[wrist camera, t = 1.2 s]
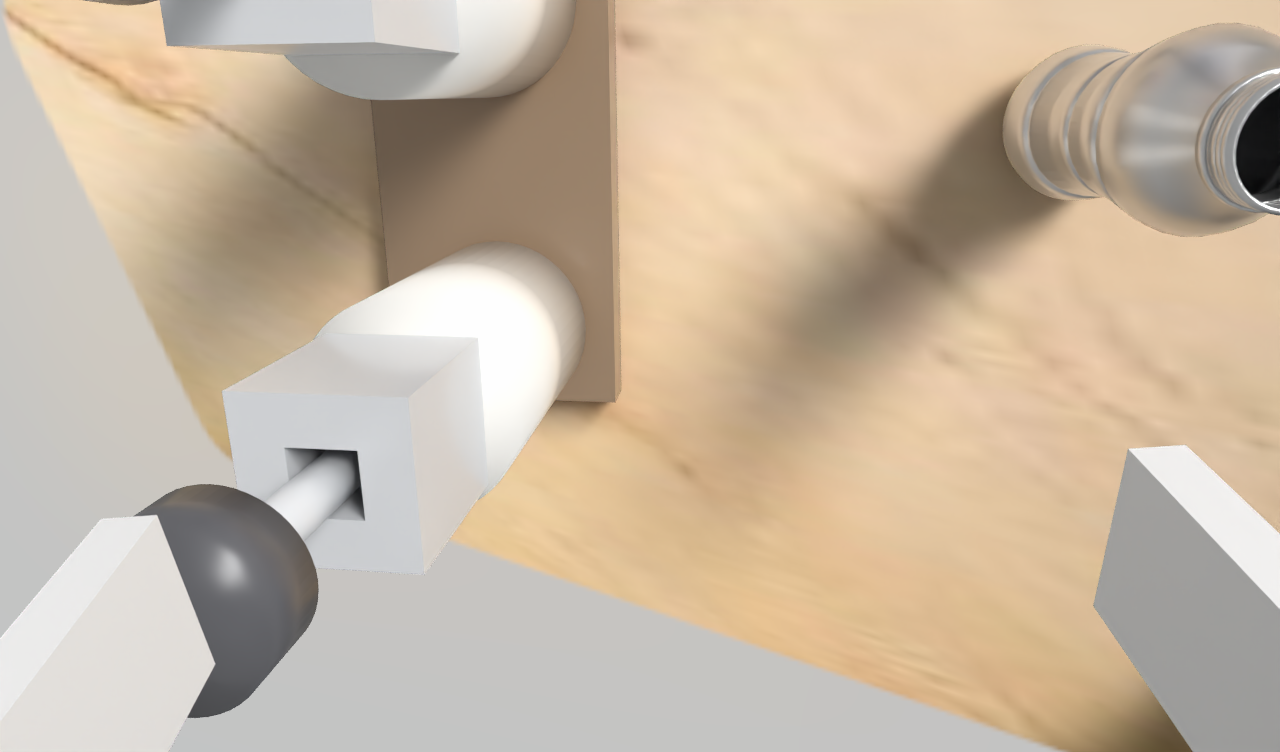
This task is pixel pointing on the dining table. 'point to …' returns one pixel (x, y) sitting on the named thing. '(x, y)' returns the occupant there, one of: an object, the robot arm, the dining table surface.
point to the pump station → (442, 256)
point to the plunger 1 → (123, 2)
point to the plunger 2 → (251, 569)
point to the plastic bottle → (1157, 128)
